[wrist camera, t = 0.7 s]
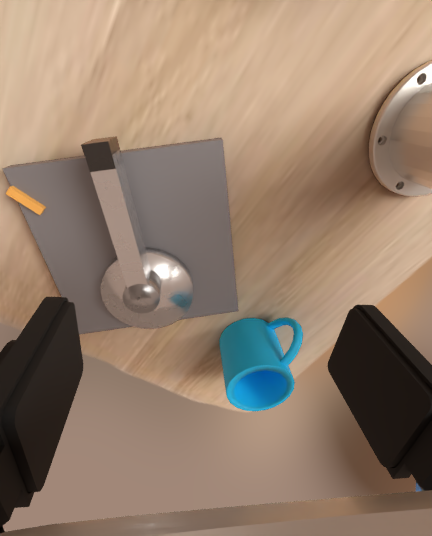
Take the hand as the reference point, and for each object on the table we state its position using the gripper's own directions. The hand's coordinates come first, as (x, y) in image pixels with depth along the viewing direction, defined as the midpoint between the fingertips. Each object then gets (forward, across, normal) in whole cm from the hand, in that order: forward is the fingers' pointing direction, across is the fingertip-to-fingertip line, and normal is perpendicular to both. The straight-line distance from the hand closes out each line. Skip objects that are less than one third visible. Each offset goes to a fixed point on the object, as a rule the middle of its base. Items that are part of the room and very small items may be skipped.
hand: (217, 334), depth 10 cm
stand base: (+23, +5, +8) cm, 25 cm away
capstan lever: (+21, +5, +7) cm, 23 cm away
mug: (+23, -11, +20) cm, 32 cm away
